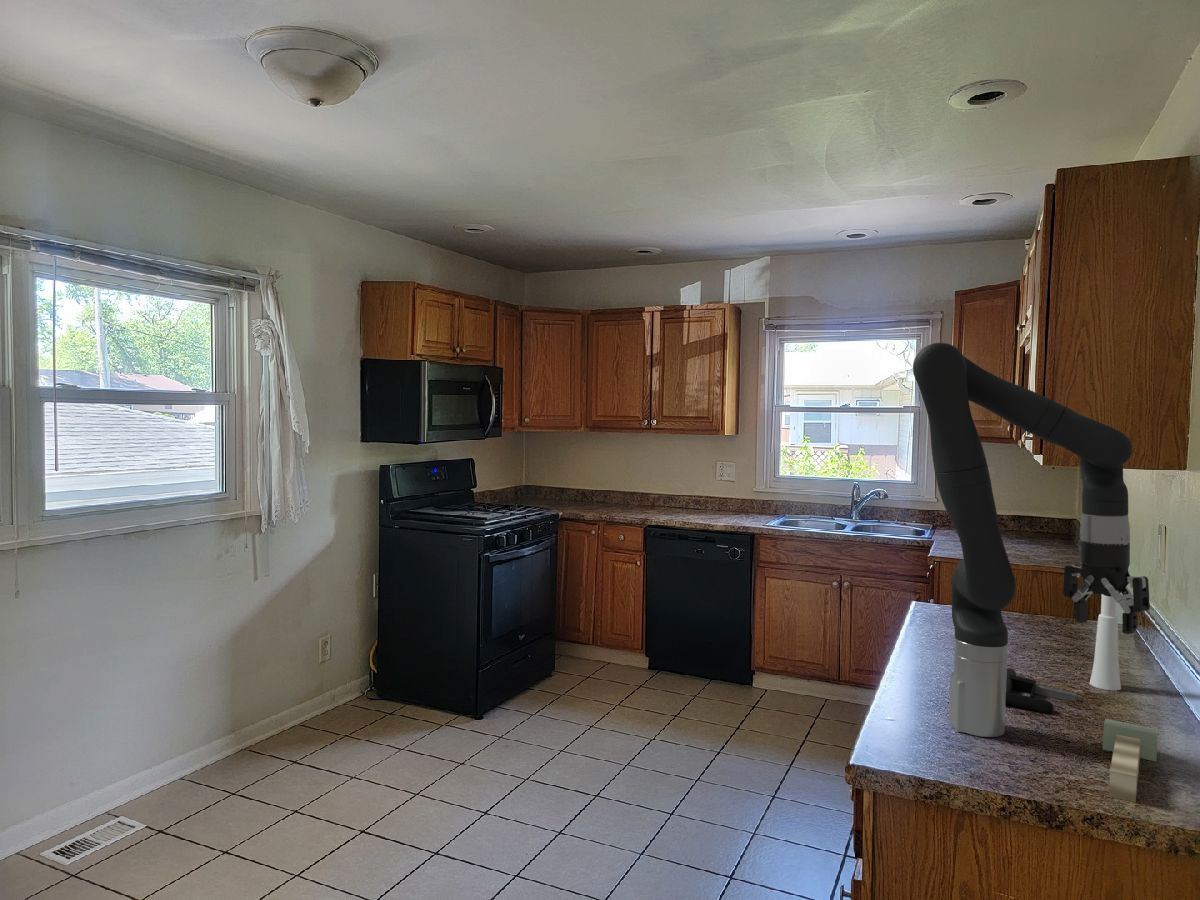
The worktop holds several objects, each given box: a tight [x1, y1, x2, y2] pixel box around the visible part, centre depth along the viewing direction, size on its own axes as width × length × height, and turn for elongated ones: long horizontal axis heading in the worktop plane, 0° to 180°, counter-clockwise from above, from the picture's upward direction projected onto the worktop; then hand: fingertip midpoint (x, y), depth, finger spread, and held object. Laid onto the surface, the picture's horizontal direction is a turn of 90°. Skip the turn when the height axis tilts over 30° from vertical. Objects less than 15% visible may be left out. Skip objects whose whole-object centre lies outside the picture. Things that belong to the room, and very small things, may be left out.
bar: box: [1108, 734, 1141, 804], centre depth 131 cm, size 18×4×4 cm, turn 144°
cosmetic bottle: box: [1089, 594, 1122, 692], centre depth 177 cm, size 6×6×22 cm
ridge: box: [1102, 718, 1159, 762], centre depth 142 cm, size 5×8×4 cm, turn 53°
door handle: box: [1006, 667, 1078, 715], centre depth 170 cm, size 3×20×16 cm
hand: (1104, 627), depth 142 cm, fingers open, 8 cm apart
